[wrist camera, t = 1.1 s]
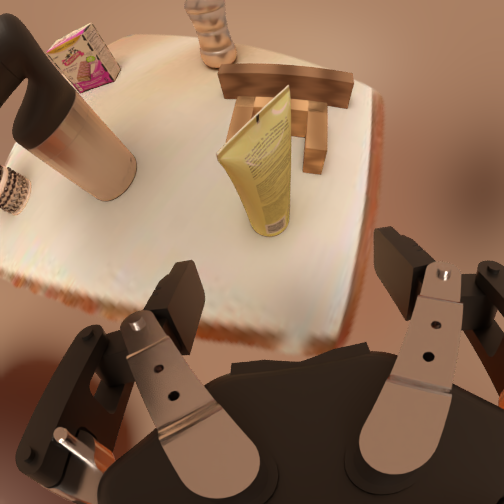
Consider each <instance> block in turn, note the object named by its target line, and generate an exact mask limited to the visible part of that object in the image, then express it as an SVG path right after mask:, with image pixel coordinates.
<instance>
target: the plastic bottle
mask: <svg viewBox="0 0 504 504" xmlns="http://www.w3.org/2000/svg"><path fill="white" fill-rule="evenodd" d="M184 5H185V6H184V7H185V10H186V12H187V14H188V16H189V17H190V19H191V21H192V23H193V25H194V27H195V30H196V32H197V35H198V39H199V44H200V53H201V58H202V60H203V61H204V63H205V64H206V65H208V66H209V67H212V68H220V66H221V64H232V63H233V62H234V60H235V59H236V47H235V45H234V43H233V41H232V39H231V36H230V33H229V30H228V27H227V21H226V12H225V0H186V1H185V4H184Z"/></svg>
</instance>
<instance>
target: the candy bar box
mask: <svg viewBox="0 0 504 504" xmlns="http://www.w3.org/2000/svg"><path fill="white" fill-rule="evenodd" d="M46 54H47V55H48V56H49V57H50V58H51V60H52V61H53V62H54V63H55V64H56V66H57V67H58V68H59V69H60V70H61V71H62V72H63V74H64V75H65V76H66V77H67V78H68V80H69V81H70V82H71V83H72V84H73V85H74V87H75V88H76V89H77V90H78V91H79V93H82V92H84V91H87V90H90V89H92V88H95V87H98V86H101V85H104V84H107V83H111V82H114V81H115V80H116V78H117V76H118V74H119V72H120V70H121V68H120V66H119V65H118V63H117V62H116V60H115V59H114V57H113V56H112V54H111V52H110V51H109V49H108V48H107V46H106V44H105V43H104V41H103V40H102V38H101V37H100V35H99V33H98V32H97V30H96V29H95V27H94V25H93V24H92V23H89V24H88V25H85V26H83V27H81V28H79V29H77V30H75V31H73V32H71V33H69V34H67V35H65V36H64V37H62V38H60V39H58V40H57V41H55V43H54V44H53V45H52V46H51V47H50V49H49V50H48V51H47V53H46Z"/></svg>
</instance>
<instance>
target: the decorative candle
mask: <svg viewBox="0 0 504 504" xmlns="http://www.w3.org/2000/svg"><path fill="white" fill-rule="evenodd" d="M30 193H31V182H30V181H29V180H28V179H26V178H25V177H24V178H23V176H21V175H19V173H17V174H16V172H15V171H14V170H12V171H11V168H9V167H7V168H6V167H5V166H3V165H0V208H2V209H3V211H7V212H8V213H12V214H13V215H18V214H19V213H20V212H21V211H22V210H23V209H24V207H25V206H26V204H27V202H28V199H29V196H30Z"/></svg>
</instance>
